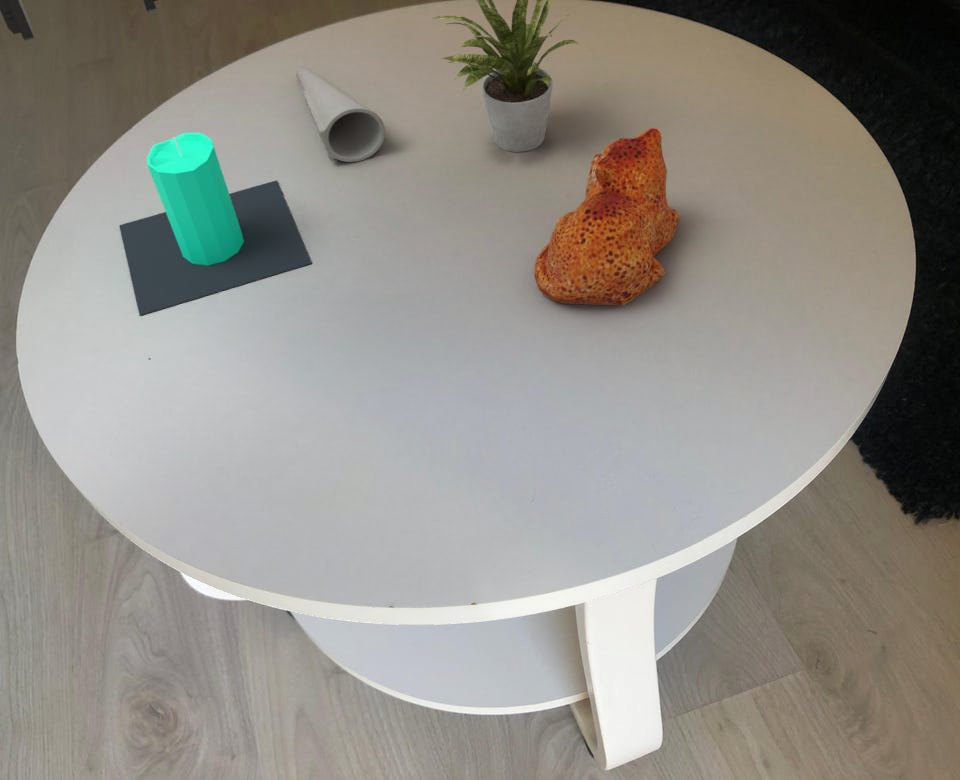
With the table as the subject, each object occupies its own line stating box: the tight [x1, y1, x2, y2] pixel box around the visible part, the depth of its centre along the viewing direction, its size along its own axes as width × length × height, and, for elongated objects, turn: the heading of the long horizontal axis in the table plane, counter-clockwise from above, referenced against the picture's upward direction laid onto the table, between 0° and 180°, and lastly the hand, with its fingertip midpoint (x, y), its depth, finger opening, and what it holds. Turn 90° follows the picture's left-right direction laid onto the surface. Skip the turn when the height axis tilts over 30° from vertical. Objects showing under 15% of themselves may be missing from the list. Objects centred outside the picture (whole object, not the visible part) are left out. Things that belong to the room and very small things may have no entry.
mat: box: [118, 180, 313, 317], centre depth 95 cm, size 16×14×1 cm
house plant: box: [433, 0, 582, 153], centre depth 97 cm, size 14×14×16 cm
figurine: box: [533, 127, 681, 307], centre depth 85 cm, size 15×11×10 cm
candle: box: [146, 132, 244, 265], centre depth 90 cm, size 6×6×12 cm
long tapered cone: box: [296, 65, 386, 163], centre depth 107 cm, size 6×6×19 cm
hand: (89, 20), depth 71 cm, fingers open, 8 cm apart
